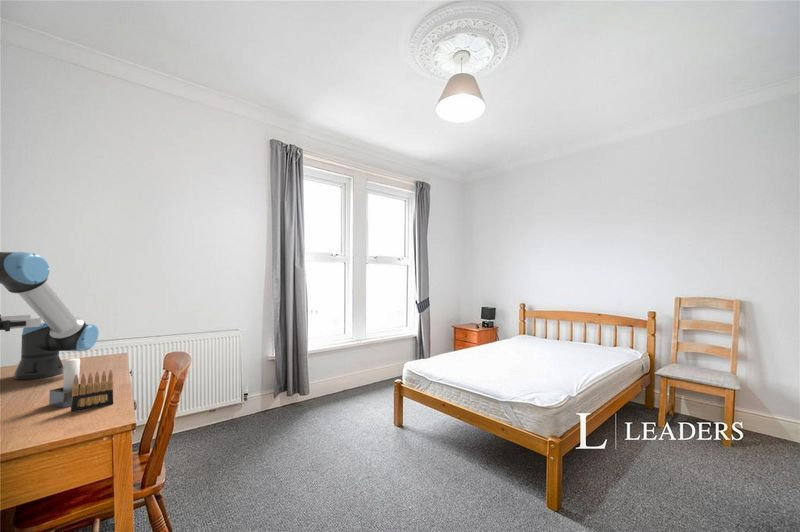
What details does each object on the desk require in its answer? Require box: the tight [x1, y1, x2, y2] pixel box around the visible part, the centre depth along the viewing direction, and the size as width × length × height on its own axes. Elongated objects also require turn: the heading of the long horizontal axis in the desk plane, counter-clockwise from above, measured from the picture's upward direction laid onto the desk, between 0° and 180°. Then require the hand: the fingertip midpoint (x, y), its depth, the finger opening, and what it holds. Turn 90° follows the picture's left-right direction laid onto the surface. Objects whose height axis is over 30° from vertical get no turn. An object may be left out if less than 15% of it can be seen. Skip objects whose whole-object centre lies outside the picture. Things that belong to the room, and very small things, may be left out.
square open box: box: [48, 383, 87, 409], centre depth 120 cm, size 8×8×5 cm
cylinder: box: [62, 358, 81, 392], centre depth 120 cm, size 4×4×14 cm
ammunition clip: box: [70, 369, 114, 413], centre depth 116 cm, size 11×2×12 cm, turn 135°
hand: (35, 320), depth 113 cm, fingers open, 13 cm apart
